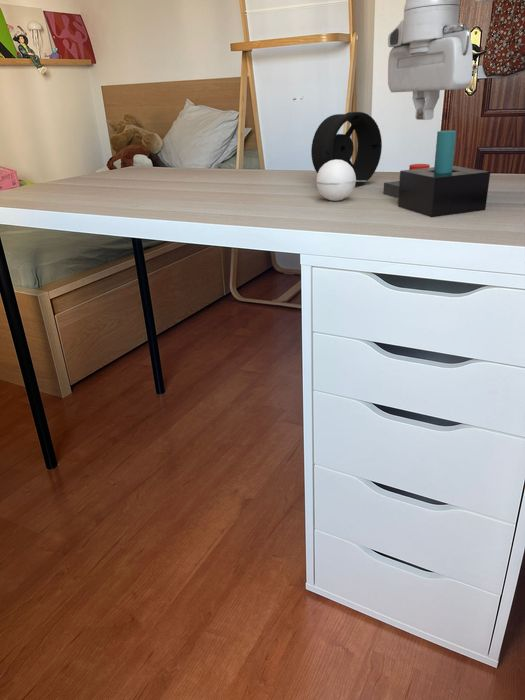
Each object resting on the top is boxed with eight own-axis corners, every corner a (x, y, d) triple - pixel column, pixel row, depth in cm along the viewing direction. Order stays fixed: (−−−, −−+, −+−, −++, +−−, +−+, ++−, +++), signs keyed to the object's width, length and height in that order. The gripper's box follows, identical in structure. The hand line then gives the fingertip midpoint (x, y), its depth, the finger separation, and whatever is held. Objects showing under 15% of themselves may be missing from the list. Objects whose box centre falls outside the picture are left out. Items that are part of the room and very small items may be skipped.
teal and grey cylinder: (441, 206, 89) (449, 130, 84) (451, 209, 87) (460, 130, 82) (427, 208, 89) (433, 131, 83) (437, 211, 86) (444, 132, 81)
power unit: (428, 189, 105) (429, 168, 103) (452, 195, 98) (455, 172, 96) (383, 194, 102) (384, 172, 100) (405, 200, 95) (407, 177, 94)
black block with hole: (447, 200, 93) (451, 165, 91) (485, 210, 85) (490, 171, 82) (397, 207, 91) (399, 170, 88) (431, 217, 82) (435, 177, 80)
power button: (421, 172, 100) (422, 163, 100) (432, 175, 97) (433, 165, 97) (405, 174, 100) (405, 165, 99) (415, 177, 96) (416, 166, 96)
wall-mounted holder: (349, 110, 116) (383, 109, 108) (348, 178, 122) (380, 182, 114) (298, 114, 108) (330, 114, 101) (300, 187, 115) (330, 192, 107)
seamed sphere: (307, 201, 99) (307, 160, 96) (335, 195, 103) (335, 156, 100) (347, 207, 92) (347, 163, 89) (374, 201, 96) (376, 159, 93)
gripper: (487, 20, 80) (477, 119, 86) (413, 36, 98) (408, 117, 104) (452, 21, 78) (444, 122, 84) (382, 37, 96) (380, 119, 102)
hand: (424, 119), depth 94 cm, fingers closed
